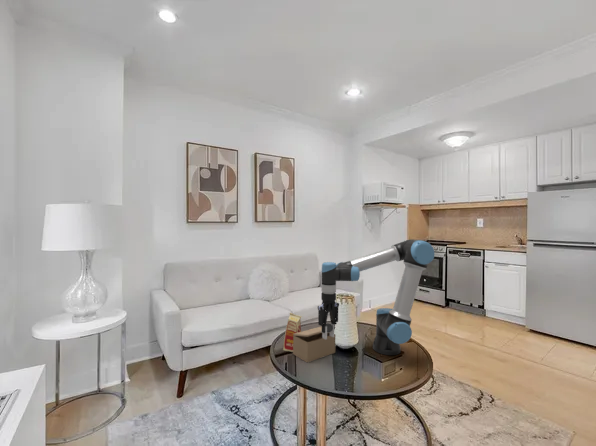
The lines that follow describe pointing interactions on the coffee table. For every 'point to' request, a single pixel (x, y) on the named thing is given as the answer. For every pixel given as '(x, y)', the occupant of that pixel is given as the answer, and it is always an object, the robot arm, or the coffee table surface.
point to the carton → (313, 346)
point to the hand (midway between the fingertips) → (328, 337)
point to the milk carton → (291, 331)
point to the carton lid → (314, 331)
